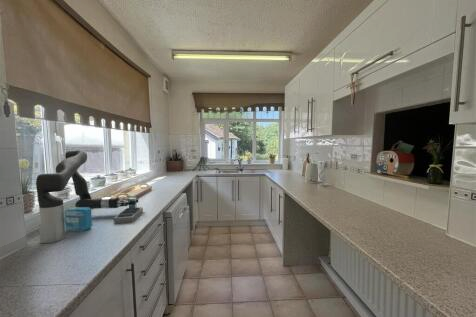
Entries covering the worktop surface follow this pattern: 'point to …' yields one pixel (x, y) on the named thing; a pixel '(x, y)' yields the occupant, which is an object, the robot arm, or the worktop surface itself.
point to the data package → (78, 219)
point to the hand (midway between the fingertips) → (136, 201)
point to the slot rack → (128, 215)
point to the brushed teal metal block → (133, 207)
